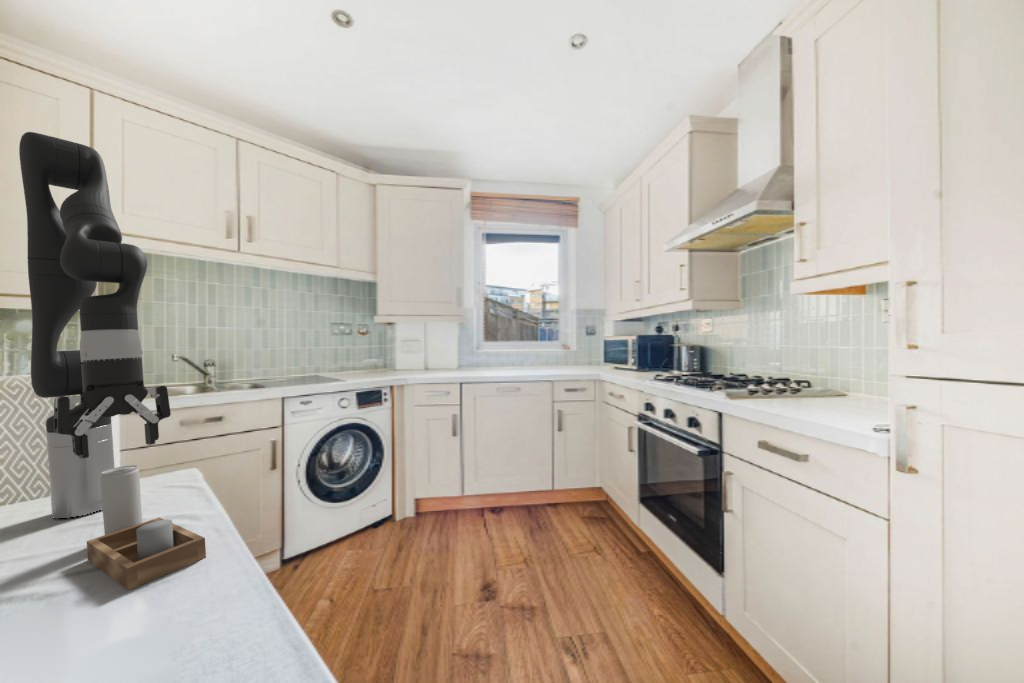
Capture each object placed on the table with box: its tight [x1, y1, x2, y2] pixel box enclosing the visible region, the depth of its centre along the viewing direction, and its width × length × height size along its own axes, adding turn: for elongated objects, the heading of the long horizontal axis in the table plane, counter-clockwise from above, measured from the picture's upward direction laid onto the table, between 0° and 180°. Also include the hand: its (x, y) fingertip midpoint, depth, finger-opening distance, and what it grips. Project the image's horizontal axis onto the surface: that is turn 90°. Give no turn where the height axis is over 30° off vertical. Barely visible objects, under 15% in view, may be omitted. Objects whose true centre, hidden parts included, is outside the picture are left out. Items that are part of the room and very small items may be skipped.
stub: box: [136, 518, 174, 561], centre depth 60 cm, size 4×4×6 cm
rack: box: [86, 517, 207, 591], centre depth 62 cm, size 17×9×3 cm, turn 59°
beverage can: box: [100, 464, 143, 535], centre depth 70 cm, size 5×5×12 cm
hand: (118, 450), depth 70 cm, fingers open, 8 cm apart
